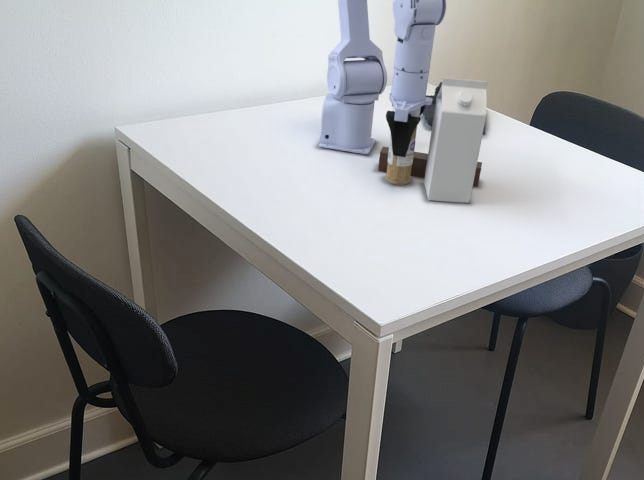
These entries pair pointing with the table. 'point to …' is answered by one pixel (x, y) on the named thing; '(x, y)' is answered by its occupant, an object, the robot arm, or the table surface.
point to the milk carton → (455, 140)
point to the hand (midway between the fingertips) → (401, 150)
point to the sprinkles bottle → (401, 159)
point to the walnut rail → (419, 165)
